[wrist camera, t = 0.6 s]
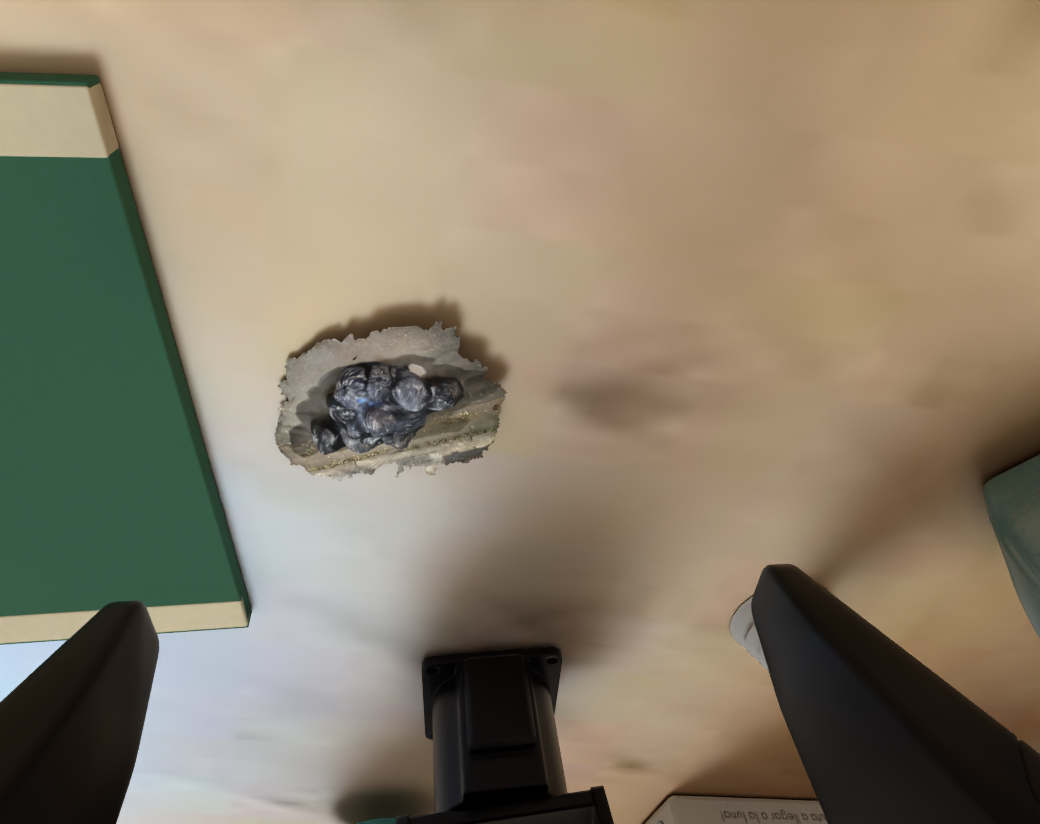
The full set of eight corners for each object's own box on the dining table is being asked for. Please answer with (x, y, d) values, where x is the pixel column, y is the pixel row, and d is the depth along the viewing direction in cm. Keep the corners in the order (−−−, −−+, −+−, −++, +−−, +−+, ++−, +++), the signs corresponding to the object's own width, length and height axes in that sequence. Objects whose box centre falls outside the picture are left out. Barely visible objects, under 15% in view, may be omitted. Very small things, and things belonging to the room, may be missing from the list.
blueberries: (536, 415, 23) (545, 450, 22) (357, 519, 25) (353, 557, 24) (419, 268, 20) (419, 297, 18) (218, 402, 22) (204, 439, 20)
